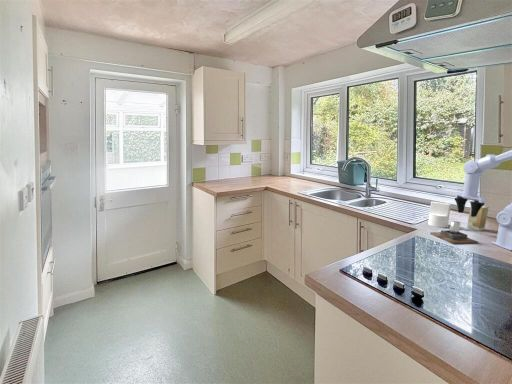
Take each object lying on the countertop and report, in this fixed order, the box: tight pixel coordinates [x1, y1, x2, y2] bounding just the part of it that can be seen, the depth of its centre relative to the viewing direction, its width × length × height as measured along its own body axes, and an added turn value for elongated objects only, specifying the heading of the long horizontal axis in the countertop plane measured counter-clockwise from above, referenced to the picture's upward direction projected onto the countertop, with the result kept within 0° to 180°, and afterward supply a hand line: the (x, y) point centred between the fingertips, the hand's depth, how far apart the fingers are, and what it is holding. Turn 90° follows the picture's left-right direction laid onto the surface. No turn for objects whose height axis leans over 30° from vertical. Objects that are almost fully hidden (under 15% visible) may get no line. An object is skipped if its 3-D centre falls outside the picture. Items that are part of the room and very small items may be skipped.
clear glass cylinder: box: [449, 220, 461, 235], centre depth 137 cm, size 4×4×7 cm
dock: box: [430, 229, 479, 245], centre depth 138 cm, size 14×12×3 cm
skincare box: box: [466, 205, 489, 232], centre depth 153 cm, size 6×4×12 cm
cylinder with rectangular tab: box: [427, 201, 452, 228], centre depth 159 cm, size 9×9×12 cm
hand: (467, 214), depth 145 cm, fingers open, 7 cm apart
